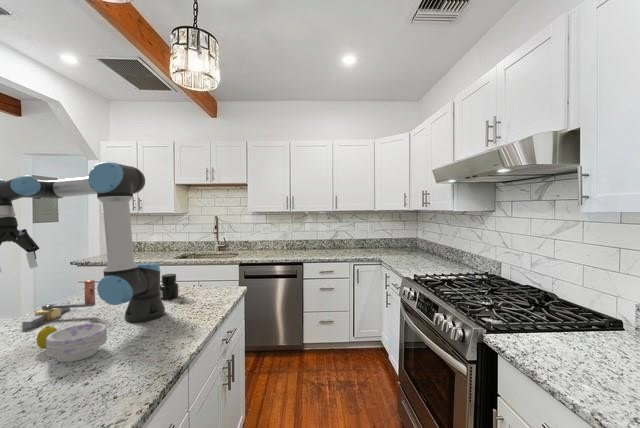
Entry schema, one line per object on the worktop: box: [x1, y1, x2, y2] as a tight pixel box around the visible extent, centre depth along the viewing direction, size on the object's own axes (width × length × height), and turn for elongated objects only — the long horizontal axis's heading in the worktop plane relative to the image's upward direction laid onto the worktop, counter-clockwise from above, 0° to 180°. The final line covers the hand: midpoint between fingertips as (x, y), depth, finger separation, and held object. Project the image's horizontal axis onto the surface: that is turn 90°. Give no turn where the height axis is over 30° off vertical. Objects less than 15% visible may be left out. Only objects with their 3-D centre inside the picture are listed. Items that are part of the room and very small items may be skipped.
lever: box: [41, 279, 96, 310], centre depth 131 cm, size 20×4×11 cm, turn 101°
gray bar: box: [21, 302, 71, 331], centre depth 130 cm, size 6×24×4 cm, turn 11°
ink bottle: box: [160, 273, 179, 301], centre depth 159 cm, size 10×9×12 cm
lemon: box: [36, 325, 59, 350], centre depth 101 cm, size 6×6×8 cm
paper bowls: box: [45, 322, 108, 363], centre depth 97 cm, size 15×15×8 cm
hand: (16, 270), depth 119 cm, fingers open, 13 cm apart
